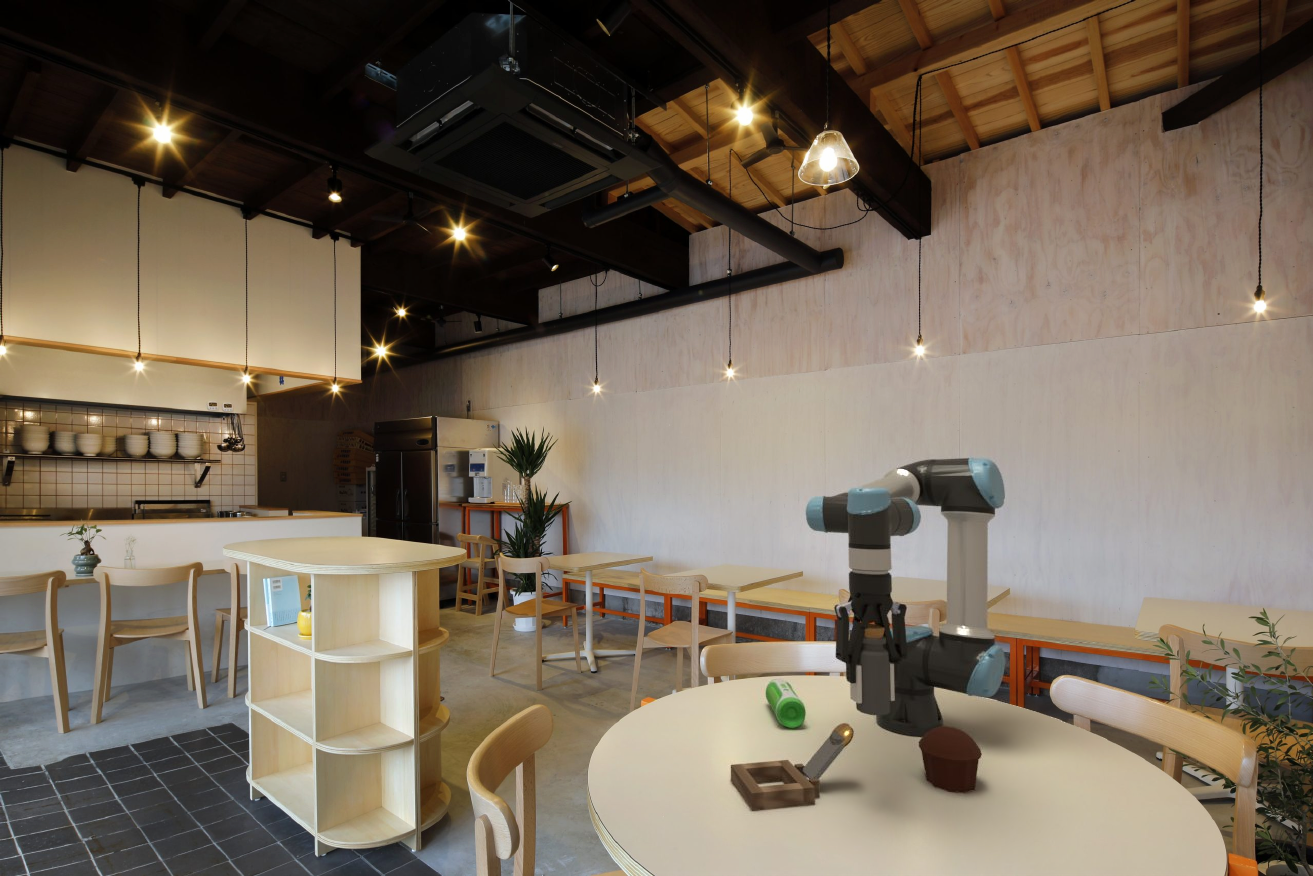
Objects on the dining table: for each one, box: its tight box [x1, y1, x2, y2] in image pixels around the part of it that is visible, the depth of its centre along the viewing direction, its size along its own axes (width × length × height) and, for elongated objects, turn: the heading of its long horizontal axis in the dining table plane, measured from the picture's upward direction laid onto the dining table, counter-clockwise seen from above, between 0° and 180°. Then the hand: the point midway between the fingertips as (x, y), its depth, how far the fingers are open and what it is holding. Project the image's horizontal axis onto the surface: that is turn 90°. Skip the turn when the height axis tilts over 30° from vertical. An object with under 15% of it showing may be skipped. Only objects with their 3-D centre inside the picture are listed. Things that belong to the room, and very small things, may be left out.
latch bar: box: [800, 722, 855, 781], centre depth 124 cm, size 14×5×1 cm
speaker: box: [765, 678, 807, 729], centre depth 161 cm, size 18×7×8 cm, turn 0°
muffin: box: [918, 725, 983, 794], centre depth 126 cm, size 12×11×10 cm
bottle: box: [855, 623, 890, 716], centre depth 118 cm, size 6×6×15 cm
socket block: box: [730, 759, 820, 812], centre depth 122 cm, size 14×12×3 cm
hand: (872, 699), depth 117 cm, fingers closed on bottle, 6 cm apart
